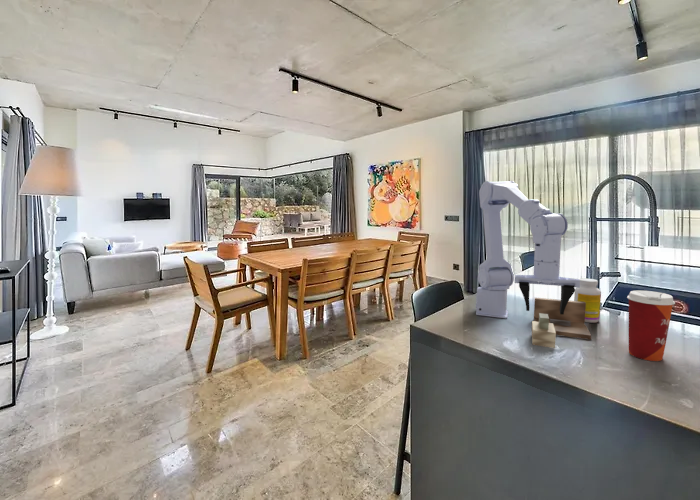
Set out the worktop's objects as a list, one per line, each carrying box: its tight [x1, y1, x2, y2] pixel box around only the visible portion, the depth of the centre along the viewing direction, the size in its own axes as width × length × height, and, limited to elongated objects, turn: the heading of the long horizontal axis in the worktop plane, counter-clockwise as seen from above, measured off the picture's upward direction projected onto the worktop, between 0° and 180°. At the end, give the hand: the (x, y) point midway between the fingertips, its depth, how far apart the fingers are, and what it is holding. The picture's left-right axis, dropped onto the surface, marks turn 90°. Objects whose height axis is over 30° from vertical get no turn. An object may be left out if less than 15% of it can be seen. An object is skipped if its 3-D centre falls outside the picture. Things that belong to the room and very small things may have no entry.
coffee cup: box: [626, 290, 676, 362], centre depth 76 cm, size 8×8×15 cm
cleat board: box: [533, 297, 592, 340], centre depth 94 cm, size 13×12×7 cm
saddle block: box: [531, 313, 557, 349], centre depth 86 cm, size 5×8×7 cm, turn 153°
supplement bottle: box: [573, 277, 602, 324], centre depth 101 cm, size 7×7×13 cm
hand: (544, 311), depth 86 cm, fingers open, 7 cm apart
